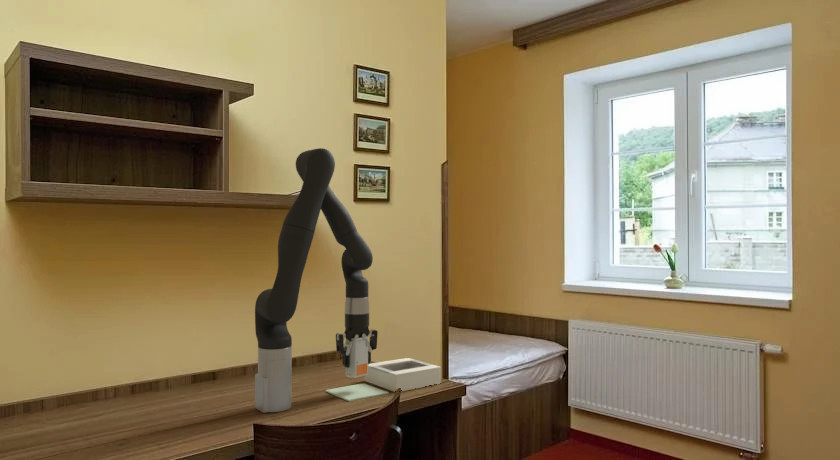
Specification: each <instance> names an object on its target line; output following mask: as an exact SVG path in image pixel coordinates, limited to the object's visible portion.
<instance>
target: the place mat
mask: <svg viewBox="0 0 840 460" xmlns="http://www.w3.org/2000/svg"><path fill="white" fill-rule="evenodd" d="M325 393H327V394H330V395H332V396H334V397H337V398H340V399H342V400H344V401H346V402H354V401H361V400H364V399H368V398H369V399H370V398H375V397H380V396H384V395H389V392H388V391H386V390H383V389H380V388H377V387H375V386H373V385H370V384H367V383H363V382H362V383H357V384H353V385H346V386H341V387H334V388H330V389H325Z"/></svg>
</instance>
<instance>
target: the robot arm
mask: <svg viewBox="0 0 840 460" xmlns="http://www.w3.org/2000/svg"><path fill="white" fill-rule="evenodd" d="M335 162H336V161H335V157H334V156H333V153H332V152H331V151H330V150H328V149H326V148H320V147H319V148H314V149H309V150H305V151H302V152H300V154H298V156H297V157H296V159H295V169H296V172H297V174H298V175H299V178H300V179H301V180H302V185H301V186H302V187H301V189H300V191H299V194H298V195H297V198H296V199H295V201H294V202H293V203H292V205H291V207H290V208H289V210H288V212H287V213H286V216H284V220H283V223H282V227H281V229H280V232H279V236H278V241H277V272H276V276H275V279H274V282H273V286H272V288H267V289H265V290H263V291H261V292H260V294H259V295H258V296H257V298H256V299H255V300H256V301H255V306H254V324H255V326H254V327H255V336H256V340H257V373H255V375H254V409H256V410H257V411H260V412H261V413H263V414H264V413H278V412H284V411H287V410H290V409H291V408H292V351H293V350H292V347H293V345H292V341H293V339H292V336H291V334H290V332H289V330H288V325H287V322H289V321H290V320H291V319H292V318H293V316H294V315H295V312H296V310H297V305H298V300H299V294H300V288H301V283H302V278H303V275H304V274H303V273H304V272H305V271H304V270H305V267H306V263H307V260H308V256H309V252H310V249H311V246H312V242H313V239H314V235H315V233H316V228H317V224H318V220H319V216H320V213H321V212H322V214H323V216H324V218H325V220H326V222H327V224H328V226H329V228H330V231H331V233H332V234H333V235H332V236H333V237H334V239H335V241H336V242H337V244H339V245H341V246H343V247H344V248H345V249H344V250H343V252H342V256H341V259H340V261H341V262H340V263H341V269H342V273H343V274H342V275H343V278H344V282H345V301H344V328H345V330H344V332H342V333H336V334H335V343H336V344H335V345H336V346H335V347H336V348H335V349H336V353H338V354H340V355H342V359H341V360H342V361H341V363H342V365H343V367H344V368H345V369H346V368H348V367H349V353H350V351H351V349H352V348H353V345H352V344H353V340H352V341H351V339H352V338H354V339H355V338H359V337H362V338H363V339H365V344H366V346H368V364H371V362H372V351H374V350H377V348H378V333H379V332H378V330H376V329H373V328H372V329H370V328H369V326H370V300H369V281H368V279H367V278H366V277H364V276H363V272H362V271H366V270H368V269H369V268H371V266H372V265H373V259H374V258H373V253H372V250H371V248H370V246H369V245H368V244H367V242H366V241H365V240H364V238H363V237H362V235H361V234H360V233H359V232H358V230H357V227H356V226H355V223H354V220H353V218H352V216H351V215H350V213H349V211H348V210H347V208H346V206H345V205H344V204H343V203H342V201H341V200H340V199H339V198H338V196H336V194H335V193H334V191H333V190H332V189H331V187H330V183H331V180H332V178H333V176H334V172H335V168H336V167H335V166H336V163H335ZM367 337H368V339H367ZM347 338H348V340H349V341H350V342H351V343H350V344H349V345H348V344H346V341H345V342H344V340H346V339H347Z"/></svg>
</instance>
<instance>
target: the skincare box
mask: <svg viewBox="0 0 840 460" xmlns="http://www.w3.org/2000/svg"><path fill="white" fill-rule="evenodd" d="M367 339H368V340H369V336H368V337H367ZM352 340H353V344H352V345H353V348H352V349H351V351H350V353H349V367H348V368H346V367H345V371H344V372H345V377H348V378H353V379H357V378H361V377H365V375H368V346H366V344H365V339H363V338H362V337H359V338H355V339H354V338H352V339H351V341H352ZM345 342H346V344H348V345H349V344H350V343H351V342H350V341H349V340H348V338H347V339H346V338H345Z"/></svg>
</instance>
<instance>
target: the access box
mask: <svg viewBox="0 0 840 460" xmlns="http://www.w3.org/2000/svg"><path fill="white" fill-rule="evenodd" d="M364 382H366V383H369V384H371V385H374V386H377V387H380V388H383V389H386V390H389V391H391V392H393V393H396V392H395V391H396V389H398V388H401V390H402V391H401V392H405V391H409V390H416V389H421V388H425V386H427V387H430V386H429V385H432V386H435V385H434V384H437V385H441V384H442V367H441V366H439V365H435V364H432V363H428V362H425V361H421V360H417V359H414V358H409V357H405V358H399V359H393V360H391V359H390V360H386V361H378V362H373V363H371V362H370V364H368V375H365V376H364ZM440 383H441V384H440ZM415 388H416V389H415Z"/></svg>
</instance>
